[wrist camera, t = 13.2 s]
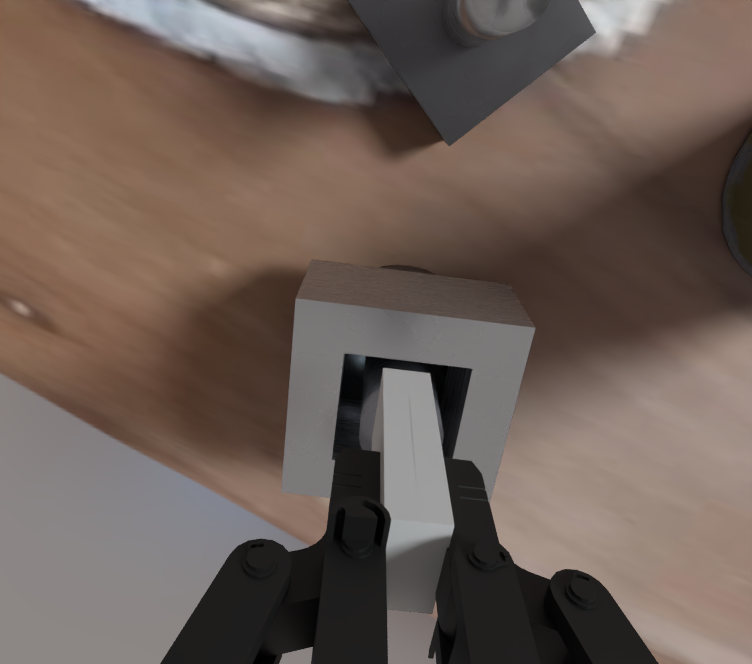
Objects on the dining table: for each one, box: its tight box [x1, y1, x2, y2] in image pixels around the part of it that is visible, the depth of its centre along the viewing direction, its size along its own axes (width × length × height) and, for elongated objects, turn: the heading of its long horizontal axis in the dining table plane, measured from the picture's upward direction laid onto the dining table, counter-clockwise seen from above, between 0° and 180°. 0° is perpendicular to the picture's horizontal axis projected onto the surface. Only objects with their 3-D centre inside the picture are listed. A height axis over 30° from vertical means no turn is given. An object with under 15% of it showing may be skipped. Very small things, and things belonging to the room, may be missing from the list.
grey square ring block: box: [281, 259, 535, 504], centre depth 25 cm, size 9×9×5 cm
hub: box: [340, 265, 448, 451], centre depth 26 cm, size 8×8×9 cm
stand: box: [348, 0, 596, 146], centre depth 19 cm, size 7×7×10 cm
